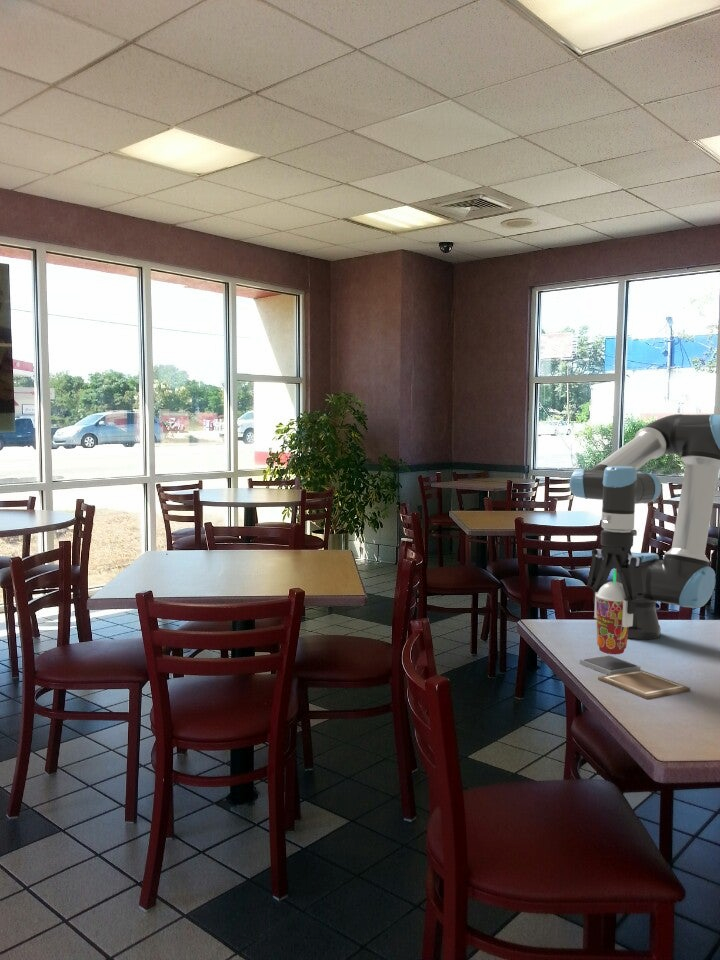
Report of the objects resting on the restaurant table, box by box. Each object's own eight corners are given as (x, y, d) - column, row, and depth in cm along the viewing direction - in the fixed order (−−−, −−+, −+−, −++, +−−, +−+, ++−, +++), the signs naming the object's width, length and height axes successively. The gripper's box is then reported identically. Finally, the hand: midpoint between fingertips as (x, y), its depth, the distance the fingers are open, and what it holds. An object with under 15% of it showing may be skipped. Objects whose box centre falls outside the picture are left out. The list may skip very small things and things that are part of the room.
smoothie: (586, 648, 191) (589, 568, 190) (613, 644, 194) (616, 566, 193) (609, 657, 183) (613, 574, 182) (636, 654, 187) (640, 572, 185)
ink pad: (609, 659, 196) (609, 654, 195) (640, 670, 187) (640, 665, 187) (579, 663, 191) (580, 659, 191) (610, 675, 182) (610, 670, 182)
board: (640, 672, 185) (640, 669, 185) (690, 690, 173) (690, 687, 173) (598, 679, 179) (598, 676, 179) (646, 698, 166) (646, 695, 166)
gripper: (574, 525, 194) (570, 613, 196) (640, 536, 176) (636, 634, 177) (596, 523, 198) (592, 610, 199) (663, 535, 179) (658, 630, 181)
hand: (612, 621), depth 188 cm, fingers closed on smoothie, 8 cm apart
